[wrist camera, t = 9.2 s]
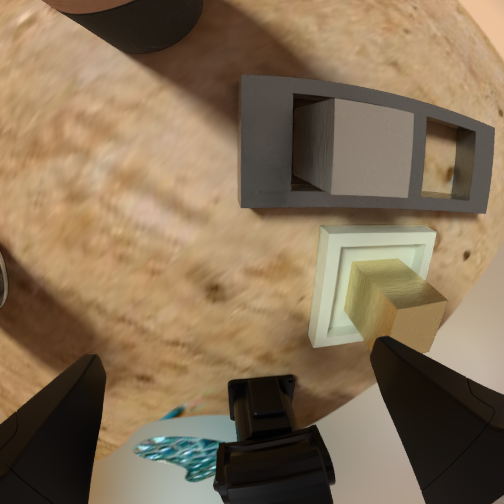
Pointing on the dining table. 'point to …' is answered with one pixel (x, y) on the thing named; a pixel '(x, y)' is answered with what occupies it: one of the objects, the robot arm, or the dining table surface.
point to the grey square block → (354, 148)
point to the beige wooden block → (393, 303)
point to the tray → (339, 266)
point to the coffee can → (3, 281)
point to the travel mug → (133, 21)
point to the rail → (286, 195)
